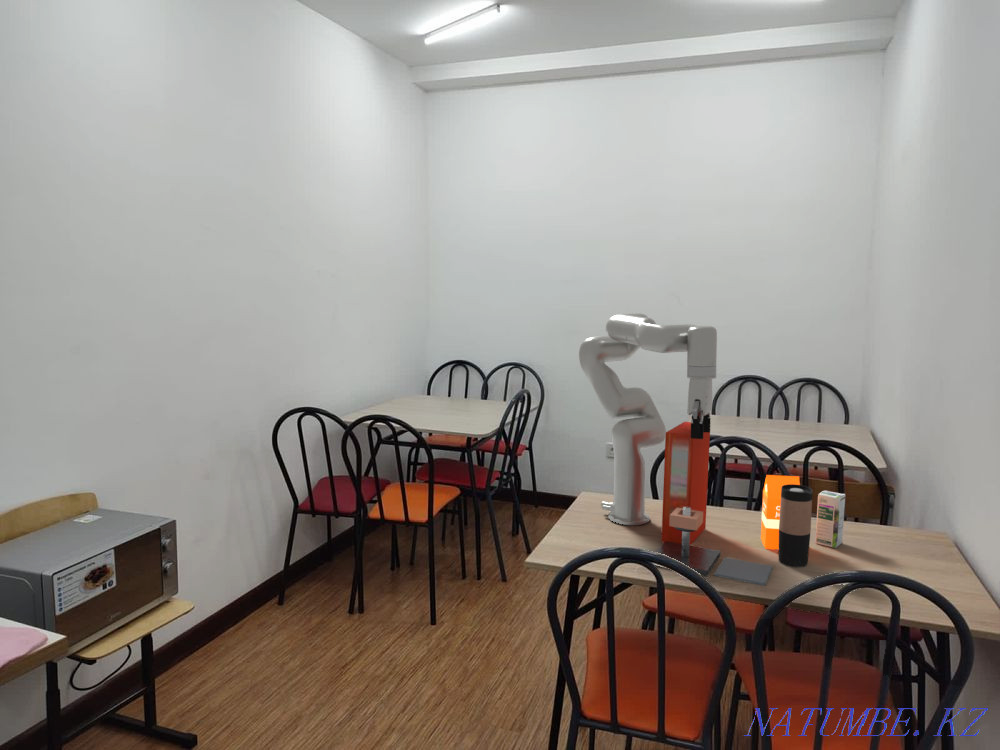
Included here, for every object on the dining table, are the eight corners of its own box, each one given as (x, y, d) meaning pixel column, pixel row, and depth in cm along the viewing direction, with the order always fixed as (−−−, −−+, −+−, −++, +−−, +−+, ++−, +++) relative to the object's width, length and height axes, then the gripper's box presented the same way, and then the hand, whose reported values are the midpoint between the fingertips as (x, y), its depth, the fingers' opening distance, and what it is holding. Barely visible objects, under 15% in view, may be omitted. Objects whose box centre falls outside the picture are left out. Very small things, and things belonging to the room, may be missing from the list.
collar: (669, 526, 184) (669, 514, 184) (676, 518, 190) (677, 507, 190) (696, 530, 181) (696, 519, 180) (703, 522, 187) (703, 511, 186)
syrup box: (814, 543, 198) (817, 493, 197) (821, 538, 203) (824, 489, 201) (835, 548, 195) (839, 498, 193) (842, 543, 199) (846, 493, 197)
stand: (648, 564, 184) (650, 511, 182) (665, 546, 197) (666, 495, 195) (706, 576, 177) (709, 520, 175) (720, 556, 190) (722, 504, 188)
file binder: (706, 529, 210) (710, 424, 206) (689, 548, 195) (693, 435, 191) (679, 524, 214) (683, 421, 210) (661, 542, 200) (664, 432, 195)
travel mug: (773, 556, 190) (776, 484, 187) (801, 556, 189) (805, 484, 187) (783, 567, 182) (787, 492, 179) (813, 567, 182) (817, 492, 179)
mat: (714, 575, 177) (714, 573, 177) (724, 559, 188) (724, 557, 187) (764, 585, 171) (764, 583, 171) (772, 568, 182) (772, 565, 182)
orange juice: (798, 551, 193) (802, 480, 190) (764, 548, 195) (768, 478, 192) (792, 541, 201) (796, 472, 198) (760, 538, 202) (763, 471, 200)
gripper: (693, 368, 198) (693, 428, 200) (680, 375, 183) (679, 440, 185) (721, 369, 195) (720, 430, 197) (710, 376, 179) (708, 442, 181)
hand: (700, 435), depth 191 cm, fingers open, 9 cm apart
